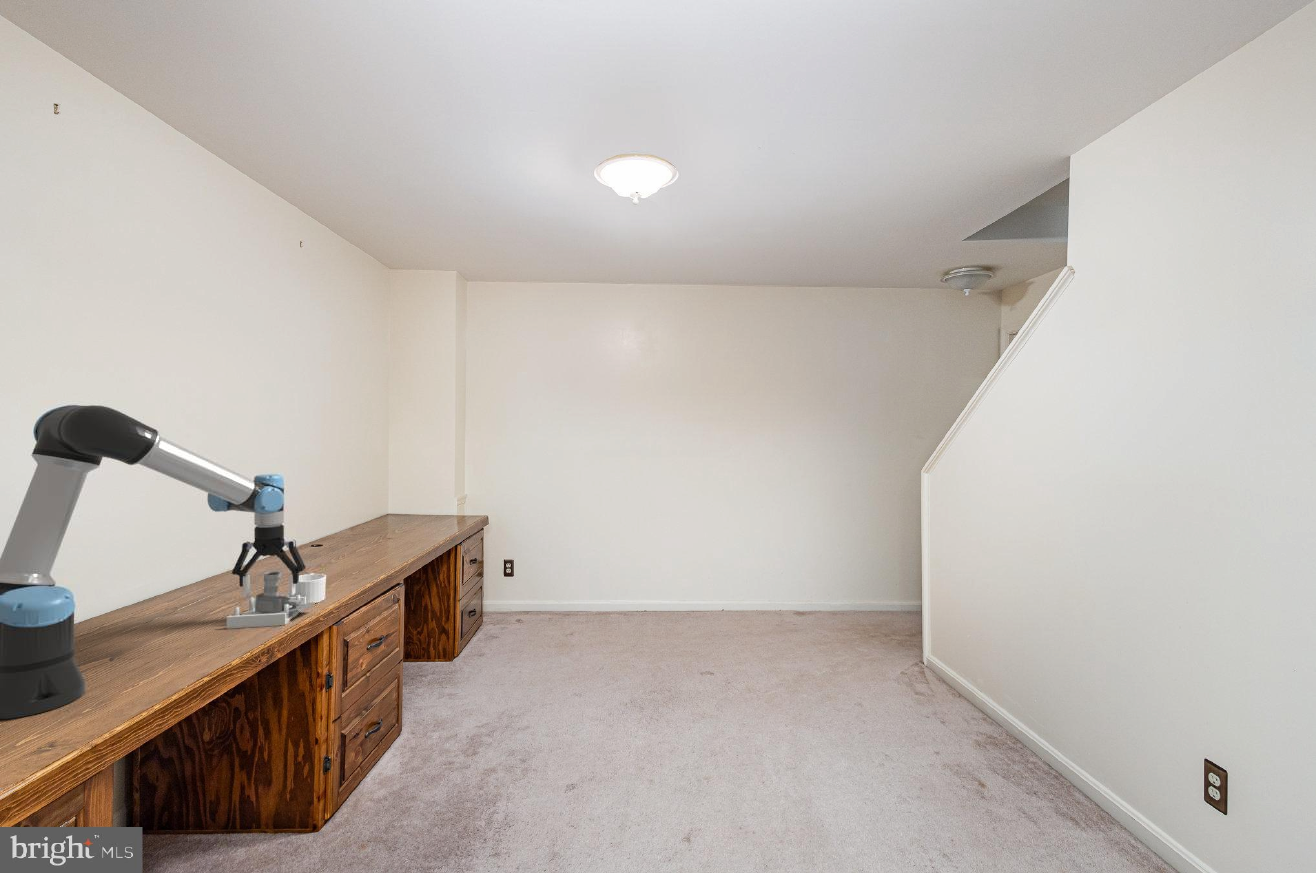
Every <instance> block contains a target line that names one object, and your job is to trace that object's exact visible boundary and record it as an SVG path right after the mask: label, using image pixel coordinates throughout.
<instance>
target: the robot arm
mask: <svg viewBox="0 0 1316 873" xmlns="http://www.w3.org/2000/svg"><path fill="white" fill-rule="evenodd" d="M33 438H34V439H35V446H34V448H33V451H32V453H31V457H32V458H33V460H34V461H35V462H36V464H37V465H36V468H35V470H34V473H33V475H32V478H31V480H30V483H29V485H28V487H27V491H26V493H25V495H24V498H23V500H22V503H21V505H20V508H19V510H18V513H17V515H16V518H15V521H14V523H13V525H12V528H11V530H10V533H9V535H8V539H6V544H5V546H4V547H3V550H2V552H1V556H0V720H8V719H16V718H17V719H18V718H23V717H28V716H33V715H37V714H40V713H44V712H47V711H52V710H55V709H57V708H61V707H63V706H66V705H67V704H70V703H72V702H75V701H76V700H78V699H80V698H82V696H84V695H85V693H86V680H85V679H84V677H83V674H82V672H81V670H80V668H79V666H78V664H77V662H76V659H75V610H76V603H75V600H74V598H75V597H74V594H73V592H72V591H71V590H70V589H68V588H66V587H63V586H57V585H56V583H57V582H56V581H55V580H54V579H53V577H52V576H51V571H52V570H53V566H54V564H55V561H56V558H57V556H58V554H59V550H60V548H61V545H62V544H63V540H64V537H65V534H66V532H67V529H68V526H69V525H70V521H71V519H72V516H73V513H74V510H75V508H76V505H77V502H78V500H79V497H80V495H81V492H82V489H83V486H84V484H85V481H86V480H87V479H86V478H87V476H88V474H89V473H90V472H91V471H94V470H96V469H98V468H100V465H101V462H102V460H103V458H107V459H112V460H116V461H119V462H121V463H124V464H127V465H129V466H134V465H140V466H143V467H146V468H148V469H149V470H153V471H156V472H158V473H160V474H162V475H165V476H167V477H170V478H172V479H174V480H177V481H179V482H182V483H184V484H186V485H189V486H191V487H193V488H196V489H198V490H200V491H202V492H203V491H204V492H205V493H207V504H208V507H209V508H210V510H212V512H216V513H217V512H218V513H219V512H225V513H226V512H229V511H236V512H245V513H246V512H247V513H254V517H253V518H254V522H253V524H254V525H255V527H254V529H253V530H254V534H253V535H254V541H253V542H250V541H246V542H243V543H242V545H241V551H240V553H239V554H240V555H239V556H238V559H237V561H236V563H235V565H234V567H233V570H232V571H231V574H232V575H236V576H237V577H239V578H238V581H239V587H242V599H247V598H248V597H251V596H250V595H251V591H250V590H251V585H250V583H251V582H250V581H251V580H250V579H251V578H250V577H251V576H250V574H248V572H249V571H250V570H251V568H252V567H253V566H254V564H255V563H256V562H257V561H258V560H259V559H260V557H261V556H262V557H268V556H269V557H275V556H276V557H277V558H278V559H279V560H281V561H282V563H283V564H284V565H285V566H286V567H287V568H288V570H289V571H290V572H291V573H290V574H289V576H288V577H289V579H288V580H289V596H292V595H294V594H295V584H297V583H298V582H299V576H300V573H301V572H303V571H304V570H306V569H307V567H306V564H305V563H304V560H303V558H302V556H301V554H300V553H299V550H298V549H297V541H296V540H295V539H292V540H287V541H286V540H285V525H283V524H284V523H285V518H284V517H285V514H284V513H285V512H284V511H285V510H284V506H285V505H284V503H285V491H284V490H285V484H284V476H282V475H281V474H278V473H277V474H275V473H274V474H273V473H272V474H257V475H255V476H254V478H253V479H251V478H250V477H246V476H244V475H243V474H240V473H238V472H236V471H234V470H231V469H230V468H228V467H225V466H224V465H221V464H219V463H217V462H214V461H213V460H211V459H208V458H207V457H204V456H202V455H200V454H198V453H196V452H194V451H191V450H189V449H187V448H185V447H183V446H181V445H178V444H176V443H174V442H172V441H170V440H168V439H166V438H164V437H162V436H161V435H160V432H159V431H158V430H157V429H155V428H153V427H151V426H149V425H147V424H145V423H143V422H141V421H139V420H137V419H135V418H133V417H131V416H129V415H127V414H125V413H124V412H122V411H119V410H117V409H114V408H111V407H108V406H104V405H93V404H92V405H78V404H69V405H64V406H63V405H62V406H59V407H55V408H53V409H50V410H48V411H46V412H45V413H43V414H42V415H41V416H40V417H38V419H37V420H36V421H35V424H34V426H33ZM285 546H286V548H287V549H288V550H289V552H290V555H291V557H292V559H293V560H292V559H291V558H290V557H289V556H288V555H287V553H286V551H285V550H284V549H283V548H285ZM252 548H254V549H255V553H254V554H253V555H252V556H251V558H250V559H249V561H248V562H247V563H246V564H245V561H246V558H247V557H248V554H249V553H250V550H252ZM244 564H245V565H244ZM243 565H244V567H243ZM242 567H243V568H242Z"/></svg>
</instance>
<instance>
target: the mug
mask: <svg viewBox="0 0 1316 873" xmlns="http://www.w3.org/2000/svg"><path fill="white" fill-rule="evenodd" d="M326 582H327V575H326V574H323V573H314V572H309V573H308V574H302V575H300V574H299V582H298V583H297V584H295V594H294V595H292V596H290V595H289V596H290V597H296V595H300V597H306V603H312V602H315V603H316V602H320V601H322V600H324V599H325V600H326V588H327V586H326V585H327V583H326ZM325 600H324V601H325Z"/></svg>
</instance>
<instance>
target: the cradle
mask: <svg viewBox="0 0 1316 873" xmlns="http://www.w3.org/2000/svg"><path fill="white" fill-rule="evenodd" d="M290 598H291V599H293V600H300V604H306V597H300V595H296V597H290ZM255 603H256V598H255V597H253V596H249V598H248V610H247V611H245V612H244V613H242V614H240V606H234V609H233V610H234V612H233V614H234V615H227V616H226V629H227V630H229V629H245V628H262V627H263V628H264V627H279V625H282V626H286V625H287V624H288V623H289V622H291V621H292V620H293V619H294V618H295V617H297V615H299V614H300V613H301V612H300V611H299V612H300V613H299V612H295V613H289V608H290V607H292V605H289V604H285V605H284V613H273V614H272V613H262V612H255ZM300 604H299V605H300ZM298 613H299V614H298ZM293 617H294V618H293ZM292 618H293V619H292ZM291 619H292V620H291ZM290 620H291V621H290ZM285 624H286V625H285Z"/></svg>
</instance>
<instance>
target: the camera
mask: <svg viewBox="0 0 1316 873" xmlns="http://www.w3.org/2000/svg"><path fill="white" fill-rule="evenodd" d="M281 575H282V572H280V571H267V572H264V575H263V582H264V584H263V592H261V593H259V594H257V595H255V599H256V603H255V612H262V613H272V614H273V613H284V605H285V604H289V605H292V607H290V608H289V613H295V612H299V611H301V612H302V611H303V610H305V609H307V608H309V607H313V606H314V605H316V604H315V602H312V603H306V604H300V600H293V599H291V598H290V594H285V593H279V583H280V581H281ZM299 604H300V605H299Z"/></svg>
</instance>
